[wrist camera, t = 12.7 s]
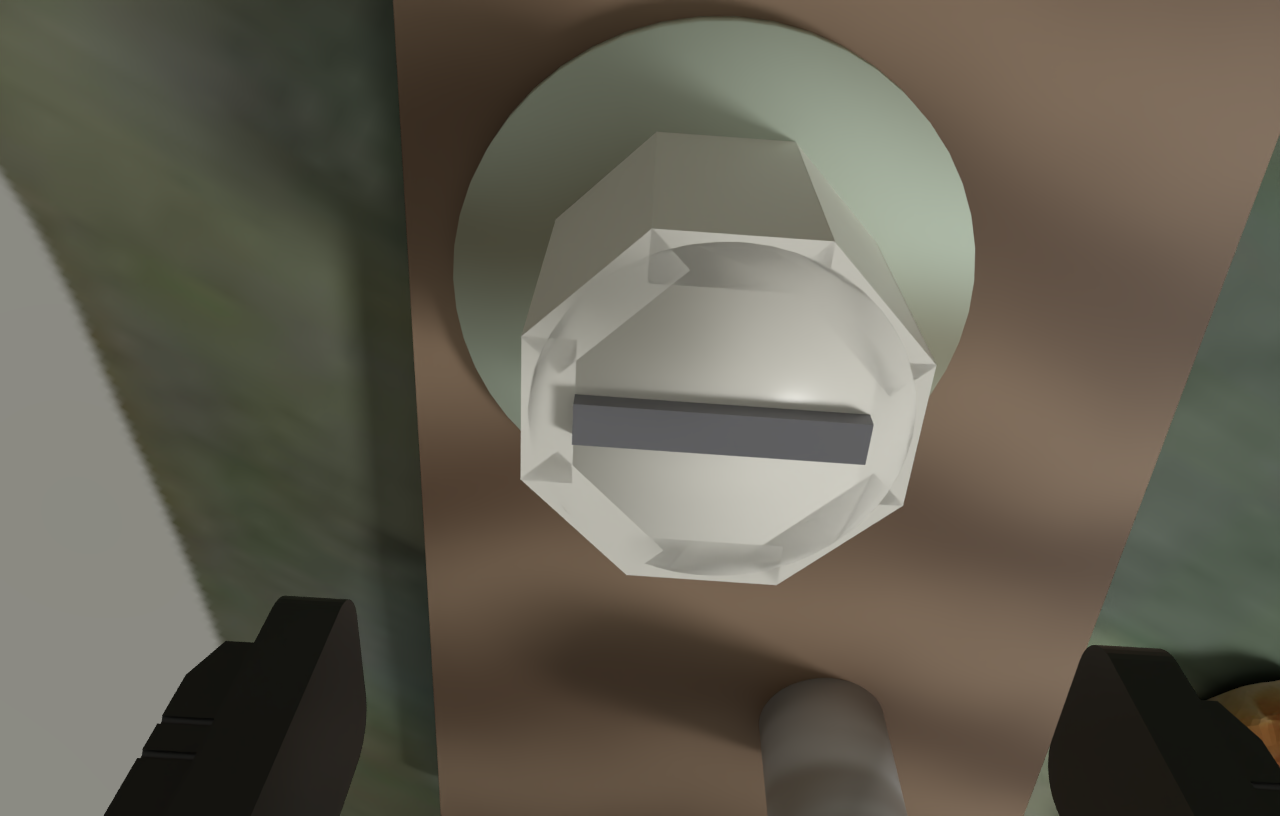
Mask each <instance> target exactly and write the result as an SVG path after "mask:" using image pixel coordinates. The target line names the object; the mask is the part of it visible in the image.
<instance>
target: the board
mask: <svg viewBox="0 0 1280 816" xmlns="http://www.w3.org/2000/svg"><path fill="white" fill-rule="evenodd" d="M393 9H394V26H395V43H396V60H397V77H398V94H399V111H400V129H401V146H402V163H403V180H404V197H405V214H406V231H407V248H408V265H409V282H410V299H411V316H412V333H413V350H414V367H415V384H416V401H417V418H418V435H419V452H420V469H421V486H422V503H423V520H424V537H425V554H426V571H427V588H428V606H429V623H430V640H431V657H432V674H433V691H434V708H435V725H436V742H437V759H438V776H439V793H440V810H441V816H1023V815H1024V813H1025V810H1026V808H1027V805H1028V802H1029V800H1030V797H1031V794H1032V792H1033V789H1034V786H1035V784H1036V781H1037V778H1038V776H1039V773H1040V770H1041V768H1042V765H1043V762H1044V760H1045V757H1046V754H1047V752H1048V749H1049V746H1050V744H1051V741H1052V738H1053V735H1054V732H1055V729H1056V726H1057V723H1058V721H1059V718H1060V715H1061V712H1062V709H1063V706H1064V704H1065V701H1066V698H1067V695H1068V692H1069V689H1070V686H1071V684H1072V681H1073V678H1074V675H1075V672H1076V669H1077V667H1078V664H1079V661H1080V658H1081V656H1082V654H1083V653H1084V651H1085V650H1086V648H1087V645H1088V642H1089V640H1090V637H1091V635H1092V632H1093V629H1094V627H1095V624H1096V621H1097V619H1098V616H1099V613H1100V611H1101V608H1102V605H1103V603H1104V600H1105V597H1106V595H1107V592H1108V589H1109V587H1110V584H1111V581H1112V579H1113V576H1114V573H1115V571H1116V568H1117V565H1118V563H1119V560H1120V557H1121V555H1122V552H1123V549H1124V547H1125V544H1126V541H1127V539H1128V536H1129V533H1130V531H1131V528H1132V525H1133V523H1134V520H1135V517H1136V515H1137V512H1138V509H1139V507H1140V504H1141V501H1142V499H1143V496H1144V493H1145V491H1146V488H1147V485H1148V483H1149V480H1150V477H1151V475H1152V472H1153V469H1154V467H1155V464H1156V462H1157V459H1158V456H1159V454H1160V451H1161V448H1162V446H1163V443H1164V440H1165V438H1166V435H1167V432H1168V430H1169V427H1170V424H1171V422H1172V419H1173V416H1174V414H1175V411H1176V408H1177V406H1178V403H1179V400H1180V398H1181V395H1182V392H1183V390H1184V387H1185V384H1186V382H1187V379H1188V376H1189V374H1190V371H1191V368H1192V366H1193V363H1194V360H1195V358H1196V355H1197V352H1198V350H1199V347H1200V344H1201V342H1202V339H1203V336H1204V334H1205V331H1206V328H1207V326H1208V323H1209V320H1210V318H1211V315H1212V312H1213V310H1214V307H1215V304H1216V302H1217V299H1218V296H1219V294H1220V291H1221V289H1222V286H1223V283H1224V281H1225V278H1226V275H1227V273H1228V270H1229V267H1230V265H1231V262H1232V259H1233V257H1234V254H1235V251H1236V249H1237V246H1238V243H1239V241H1240V238H1241V235H1242V233H1243V230H1244V227H1245V225H1246V222H1247V219H1248V217H1249V214H1250V211H1251V209H1252V206H1253V203H1254V201H1255V198H1256V195H1257V193H1258V190H1259V187H1260V185H1261V182H1262V179H1263V177H1264V174H1265V171H1266V169H1267V166H1268V163H1269V161H1270V158H1271V155H1272V153H1273V150H1274V147H1275V145H1276V142H1277V139H1278V137H1279V134H1280V0H393ZM656 132H668V133H682V134H696V135H710V136H724V137H738V138H752V139H766V140H780V141H794V142H796V143H797V144H798V145H799V147H800V148H801V149H802V150H803V151H804V153H805V154H806V155H807V156H808V158H809V159H810V160H811V161H812V163H813V164H814V165H815V166H816V168H817V169H818V170H819V171H820V173H821V174H822V175H823V176H824V178H825V179H826V180H827V181H828V183H829V184H830V185H831V186H832V188H833V189H834V190H835V191H836V193H837V194H838V195H839V196H840V198H841V199H842V200H843V201H844V203H845V204H846V205H847V206H848V208H849V209H850V210H851V211H852V213H853V214H854V215H855V216H856V218H857V219H858V220H859V221H860V223H861V224H862V225H863V226H864V228H865V229H866V230H867V231H868V233H869V234H870V235H871V236H872V238H873V239H874V240H875V241H876V242H877V244H878V247H879V249H880V251H881V253H882V255H883V257H884V259H885V261H886V263H887V265H888V267H889V269H890V271H891V273H892V275H893V277H894V279H895V281H896V283H897V285H898V287H899V289H900V291H901V293H902V295H903V297H904V299H905V302H906V304H907V306H908V308H909V310H910V312H911V314H912V316H913V318H914V320H915V322H916V324H917V326H918V328H919V330H920V332H921V334H922V336H923V338H924V340H925V342H926V344H927V346H928V348H929V350H930V352H931V355H932V357H933V359H934V361H935V363H936V365H937V366H936V369H935V374H934V378H933V382H932V386H931V390H930V395H929V399H928V403H927V407H926V411H925V416H924V420H923V424H922V428H921V432H920V437H919V441H918V445H917V449H916V453H915V458H914V462H913V466H912V470H911V474H910V479H909V483H908V487H907V491H906V495H905V500H904V504H903V506H902V507H900V508H899V509H897V510H895V511H894V512H892V513H891V514H889V515H887V516H886V517H884V518H883V519H881V520H879V521H878V522H876V523H875V524H873V525H871V526H870V527H868V528H867V529H865V530H864V531H862V532H860V533H859V534H857V535H856V536H854V537H852V538H851V539H849V540H848V541H846V542H844V543H843V544H841V545H840V546H838V547H836V548H835V549H833V550H832V551H830V552H828V553H827V554H825V555H824V556H822V557H821V558H819V559H817V560H816V561H814V562H813V563H811V564H809V565H808V566H806V567H805V568H803V569H801V570H800V571H798V572H797V573H795V574H793V575H792V576H790V577H789V578H787V579H785V580H784V581H782V582H781V583H779V584H778V585H766V584H751V583H737V582H722V581H707V580H693V579H678V578H663V577H649V576H634V575H626V574H625V573H624V572H623V571H621V570H620V569H619V568H618V567H617V566H616V565H615V564H614V563H613V562H611V561H610V560H609V559H608V558H607V557H606V556H605V555H604V554H603V553H602V552H600V551H599V550H598V549H597V548H596V547H595V546H594V545H593V544H592V543H590V542H589V541H588V540H587V539H586V538H585V537H584V536H583V535H582V534H580V533H579V532H578V531H577V530H576V529H575V528H574V527H573V526H572V525H571V524H569V523H568V522H567V521H566V520H565V519H564V518H563V517H562V516H561V515H559V514H558V513H557V512H556V511H555V510H554V509H553V508H552V507H551V506H549V505H548V504H547V503H546V502H545V501H544V500H543V499H542V498H541V497H540V496H538V495H537V494H536V493H535V492H534V491H533V490H532V489H531V488H530V487H528V486H527V485H526V484H525V483H524V482H523V481H522V480H521V479H520V478H521V335H522V332H523V328H524V325H525V322H526V318H527V315H528V312H529V308H530V305H531V301H532V298H533V295H534V291H535V288H536V284H537V281H538V278H539V274H540V271H541V268H542V264H543V261H544V257H545V254H546V251H547V247H548V244H549V240H550V237H551V234H552V230H553V227H554V223H555V220H556V219H557V218H558V217H559V216H560V215H561V214H562V213H564V212H565V211H566V210H567V209H568V208H569V207H571V206H572V205H573V204H574V203H575V202H576V201H577V200H579V199H580V198H581V197H582V196H583V195H584V194H586V193H587V192H588V191H589V190H590V189H591V188H592V187H594V186H595V185H596V184H597V183H598V182H599V181H600V180H602V179H603V178H604V177H605V176H606V175H607V174H609V173H610V172H611V171H612V170H613V169H614V168H615V167H617V166H618V165H619V164H620V163H621V162H622V161H624V160H625V159H626V158H627V157H628V156H629V155H630V154H632V153H633V152H634V151H635V150H636V149H637V148H639V147H640V146H641V145H642V144H643V143H644V142H645V141H647V140H648V139H649V138H650V137H651V136H652V135H653V134H655V133H656Z"/></svg>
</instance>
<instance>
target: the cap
mask: <svg viewBox="0 0 1280 816" xmlns="http://www.w3.org/2000/svg"><path fill="white" fill-rule="evenodd" d="M936 366H937V365H936V363H935V361H934V359H933V357H932V355H931V352H930V350H929V348H928V346H927V344H926V342H925V340H924V338H923V336H922V334H921V332H920V330H919V328H918V326H917V324H916V322H915V320H914V318H913V316H912V314H911V312H910V310H909V308H908V306H907V304H906V302H905V299H904V297H903V295H902V293H901V291H900V289H899V287H898V285H897V283H896V281H895V279H894V277H893V275H892V273H891V271H890V269H889V267H888V265H887V263H886V261H885V259H884V257H883V255H882V253H881V251H880V249H879V247H878V244H877V242H876V241H875V240H874V239H873V238H872V236H871V235H870V234H869V233H868V231H867V230H866V229H865V228H864V226H863V225H862V224H861V223H860V221H859V220H858V219H857V218H856V216H855V215H854V214H853V213H852V211H851V210H850V209H849V208H848V206H847V205H846V204H845V203H844V201H843V200H842V199H841V198H840V196H839V195H838V194H837V193H836V191H835V190H834V189H833V188H832V186H831V185H830V184H829V183H828V181H827V180H826V179H825V178H824V176H823V175H822V174H821V173H820V171H819V170H818V169H817V168H816V166H815V165H814V164H813V163H812V161H811V160H810V159H809V158H808V156H807V155H806V154H805V153H804V151H803V150H802V149H801V148H800V147H799V145H798V144H797V143H796V142H794V141H780V140H766V139H752V138H738V137H724V136H710V135H696V134H682V133H668V132H656V133H655V134H653V135H652V136H651V137H650V138H649V139H648V140H647V141H645V142H644V143H643V144H642V145H641V146H640V147H639V148H637V149H636V150H635V151H634V152H633V153H632V154H630V155H629V156H628V157H627V158H626V159H625V160H624V161H622V162H621V163H620V164H619V165H618V166H617V167H615V168H614V169H613V170H612V171H611V172H610V173H609V174H607V175H606V176H605V177H604V178H603V179H602V180H600V181H599V182H598V183H597V184H596V185H595V186H594V187H592V188H591V189H590V190H589V191H588V192H587V193H586V194H584V195H583V196H582V197H581V198H580V199H579V200H577V201H576V202H575V203H574V204H573V205H572V206H571V207H569V208H568V209H567V210H566V211H565V212H564V213H562V214H561V215H560V216H559V217H558V218H557V219H556V220H555V223H554V227H553V230H552V234H551V237H550V240H549V244H548V247H547V251H546V254H545V257H544V261H543V264H542V268H541V271H540V274H539V278H538V281H537V284H536V288H535V291H534V295H533V298H532V301H531V305H530V308H529V312H528V315H527V318H526V322H525V325H524V328H523V332H522V335H521V478H520V479H521V480H522V481H523V482H524V483H525V484H526V485H527V486H528V487H530V488H531V489H532V490H533V491H534V492H535V493H536V494H537V495H538V496H540V497H541V498H542V499H543V500H544V501H545V502H546V503H547V504H548V505H549V506H551V507H552V508H553V509H554V510H555V511H556V512H557V513H558V514H559V515H561V516H562V517H563V518H564V519H565V520H566V521H567V522H568V523H569V524H571V525H572V526H573V527H574V528H575V529H576V530H577V531H578V532H579V533H580V534H582V535H583V536H584V537H585V538H586V539H587V540H588V541H589V542H590V543H592V544H593V545H594V546H595V547H596V548H597V549H598V550H599V551H600V552H602V553H603V554H604V555H605V556H606V557H607V558H608V559H609V560H610V561H611V562H613V563H614V564H615V565H616V566H617V567H618V568H619V569H620V570H621V571H623V572H624V573H625V574H626V575H634V576H649V577H663V578H678V579H693V580H707V581H722V582H737V583H751V584H766V585H778V584H779V583H781V582H782V581H784V580H785V579H787V578H789V577H790V576H792V575H793V574H795V573H797V572H798V571H800V570H801V569H803V568H805V567H806V566H808V565H809V564H811V563H813V562H814V561H816V560H817V559H819V558H821V557H822V556H824V555H825V554H827V553H828V552H830V551H832V550H833V549H835V548H836V547H838V546H840V545H841V544H843V543H844V542H846V541H848V540H849V539H851V538H852V537H854V536H856V535H857V534H859V533H860V532H862V531H864V530H865V529H867V528H868V527H870V526H871V525H873V524H875V523H876V522H878V521H879V520H881V519H883V518H884V517H886V516H887V515H889V514H891V513H892V512H894V511H895V510H897V509H899V508H900V507H902V506H903V504H904V500H905V495H906V491H907V487H908V483H909V479H910V474H911V470H912V466H913V462H914V458H915V453H916V449H917V445H918V441H919V437H920V432H921V428H922V424H923V420H924V416H925V411H926V407H927V403H928V399H929V395H930V390H931V386H932V382H933V378H934V374H935V369H936Z"/></svg>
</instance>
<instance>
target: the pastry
mask: <svg viewBox="0 0 1280 816" xmlns="http://www.w3.org/2000/svg"><path fill="white" fill-rule="evenodd" d="M1208 700H1209V701H1218V702H1219V703H1220V704H1222V705H1223V706H1224V707H1225V708H1226V709H1227V710H1228V711H1229V712H1231V713H1232V714H1233V715H1234V716H1235V717H1236V718H1237V719H1239V720H1240V721H1241V722H1242V723H1243V724H1244V725H1245V726H1247V727H1248V728H1249V729H1250V730H1251V731H1252V732H1253V733H1255V734H1256V735H1257V736H1258V737H1259V738H1260V739H1261V740H1262V741H1263V742H1264V744H1265V746H1266V747H1267V749H1268V750H1269V752H1270V753H1271V755H1272V756H1273V758H1274V759H1275V761H1276V762H1277V764H1278V765H1279V767H1280V680H1277V681H1272V682H1263V683H1257V684H1251V685H1247V686H1242V687H1239V688H1237V689H1234V690H1231V691H1228V692H1226V693H1223V694H1221V695H1218V696H1215V697H1213V698H1210V699H1208Z"/></svg>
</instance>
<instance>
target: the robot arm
mask: <svg viewBox="0 0 1280 816" xmlns="http://www.w3.org/2000/svg"><path fill="white" fill-rule="evenodd" d="M365 725H366V693H365V684H364V675H363V666H362V657H361V648H360V639H359V630H358V622H357V614H356V609H355V605H354V603H353V602H352V601H351V600H348V599H331V598H313V597H296V596H282V597H280V598H279V599H278V600H277V601H276V603H275V604H274V606H273V608H272V610H271V612H270V613H269V615H268V617H267V619H266V621H265V623H264V625H263V627H262V629H261V631H260V633H259V634H258V636H257V638H256V640H255V642H254V643H250V642H233V641H225V642H224V643H223V644H222V645H221V646H219V647H218V648H217V649H216V650H215V651H213V652H212V653H211V654H210V655H209V656H208V657H206V658H205V659H204V660H203V661H202V662H200V663H199V664H198V665H197V666H196V667H195V668H193V669H192V670H191V671H190V672H189V673H188V674H186V676H185V677H184V679H183V681H182V682H181V684H180V686H179V688H178V689H177V691H176V693H175V694H174V696H173V698H172V700H171V701H170V703H169V705H168V706H167V708H166V710H165V712H164V713H163V715H162V722H161V724H157V725H156V727H155V729H154V731H153V732H152V734H151V736H150V737H149V739H148V741H147V743H146V744H145V746H144V747H143V752H142V756H141V758H137V759H136V761H135V763H134V765H133V766H132V768H131V770H130V771H129V773H128V775H127V777H126V778H125V780H124V782H123V783H122V785H121V787H120V789H119V790H118V792H117V794H116V795H115V797H114V799H113V801H112V802H111V804H110V806H109V807H108V809H107V811H106V812H105V814H104V816H340V813H341V810H342V807H343V804H344V801H345V798H346V796H347V793H348V790H349V787H350V784H351V781H352V778H353V775H354V772H355V769H356V766H357V763H358V760H359V757H360V753H361V749H362V745H363V739H364V733H365ZM1048 771H1049V782H1050V788H1051V792H1052V796H1053V800H1054V803H1055V805H1056V808H1057V811H1058V813H1059V816H1280V767H1279V765H1278V764H1277V762H1276V761H1275V759H1274V758H1273V756H1272V755H1271V753H1270V752H1269V750H1268V749H1267V747H1266V746H1265V744H1264V742H1263V741H1262V740H1261V739H1260V738H1259V737H1258V736H1257V735H1256V734H1255V733H1253V732H1252V731H1251V730H1250V729H1249V728H1248V727H1247V726H1245V725H1244V724H1243V723H1242V722H1241V721H1240V720H1239V719H1237V718H1236V717H1235V716H1234V715H1233V714H1232V713H1231V712H1229V711H1228V710H1227V709H1226V708H1225V707H1224V706H1223V705H1222V704H1220V703H1219V702H1218V701H1209V700H1200V699H1199V697H1198V696H1197V694H1196V693H1195V691H1194V689H1193V688H1192V686H1191V684H1190V683H1189V681H1188V680H1187V678H1186V676H1185V675H1184V673H1183V671H1182V670H1181V668H1180V667H1179V665H1178V663H1177V662H1176V660H1175V659H1174V658H1173V656H1172V655H1171V654H1170V653H1168V652H1167V651H1165V650H1163V649H1155V648H1137V647H1120V646H1103V645H1091V646H1090V647H1088V648H1087V649H1086V650H1085V651H1084V653H1083V654H1082V656H1081V658H1080V661H1079V664H1078V667H1077V669H1076V672H1075V675H1074V678H1073V681H1072V684H1071V686H1070V689H1069V692H1068V695H1067V698H1066V701H1065V704H1064V706H1063V709H1062V712H1061V715H1060V718H1059V721H1058V723H1057V726H1056V729H1055V732H1054V735H1053V738H1052V741H1051V744H1050V750H1049V758H1048Z"/></svg>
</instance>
